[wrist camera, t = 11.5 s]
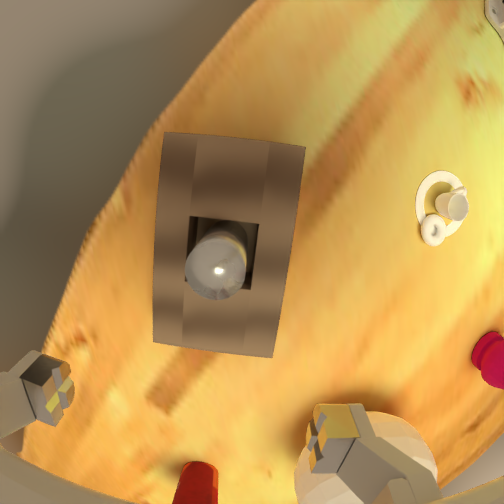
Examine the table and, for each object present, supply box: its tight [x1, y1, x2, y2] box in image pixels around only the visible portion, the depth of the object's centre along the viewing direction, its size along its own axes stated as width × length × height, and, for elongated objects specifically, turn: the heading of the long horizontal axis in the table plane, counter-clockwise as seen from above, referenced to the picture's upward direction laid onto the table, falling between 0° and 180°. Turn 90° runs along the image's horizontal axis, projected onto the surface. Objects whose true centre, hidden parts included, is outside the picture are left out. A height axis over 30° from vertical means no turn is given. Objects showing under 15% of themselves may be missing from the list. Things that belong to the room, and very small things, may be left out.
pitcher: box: [294, 411, 437, 504], centre depth 29 cm, size 19×18×25 cm
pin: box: [185, 220, 248, 300], centre depth 28 cm, size 4×4×10 cm
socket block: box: [153, 132, 306, 358], centre depth 30 cm, size 20×12×6 cm, turn 173°
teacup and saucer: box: [415, 171, 469, 246], centre depth 31 cm, size 9×8×4 cm
